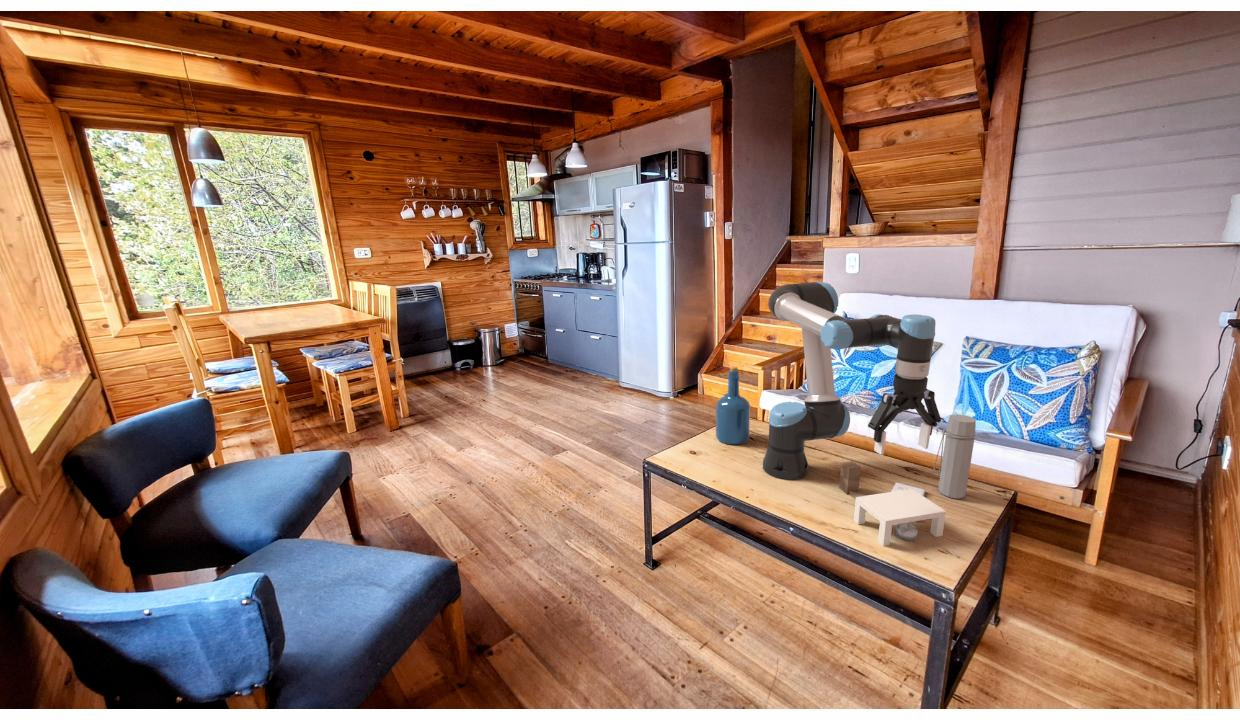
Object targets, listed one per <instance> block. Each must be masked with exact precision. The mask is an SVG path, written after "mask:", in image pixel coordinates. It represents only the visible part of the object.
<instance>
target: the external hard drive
mask: <svg viewBox="0 0 1240 720" xmlns="http://www.w3.org/2000/svg"><path fill="white" fill-rule="evenodd" d="M907 489H913V490H914V491H916V492H917V493H919V494H920V495H922V496H924V497H925V494H926V490H925V489H923V488H919V487H915V486H911V485H907V484H904V483H900V482H895V483H894V485H893V487H892V489H891V491H890V492H894V491H901V490H907Z"/></svg>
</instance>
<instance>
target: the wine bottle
mask: <svg viewBox="0 0 1240 720" xmlns="http://www.w3.org/2000/svg"><path fill="white" fill-rule="evenodd" d="M727 375H728V377H727V379H728V381H727V393H725V394H724V395H723V396H722V397H720V398H719V399H718V401H717V402H716V404H715V437H716V439H717V440H718V441H719V442H721V443H722V444H723V443H724V444H728V445H743V444H744V443H747V442H748V441H749V439H750V426H751V404H750V402H749V400H748V399H746V398H745V397H743V396H742V395H740V371H739V370H738V367H737V366H731V367H730V368H729V370H728V374H727Z"/></svg>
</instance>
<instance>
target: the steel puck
mask: <svg viewBox="0 0 1240 720" xmlns="http://www.w3.org/2000/svg"><path fill="white" fill-rule="evenodd" d="M895 525H896V526H895V535H896V536H897V538H899V539H901V540H903V541H905V542H915V541H916V540H918V532H919V529H918V528H917V526H915V525H914V524H912V523H910V522H907V523H901V524H895Z"/></svg>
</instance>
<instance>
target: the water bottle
mask: <svg viewBox="0 0 1240 720" xmlns="http://www.w3.org/2000/svg"><path fill="white" fill-rule="evenodd" d="M976 422H977V421H976V418H974V417H972V416H969V415H967V414H959V413H957V414H951V415H949V417H948V421H947V423H946V429H942V432H941V434H942V436H941V440H940V443H939V447H938V451H937V454H936V457H935V461H934V463H933V475H935V476H939V481H938V482H939V483H938V492H939V493H940V494H942V495H943V496H945V497H947V498H951V499H963V498H964V497H966V495H967V490H968V489H967V488H968V483H969V475H970V470H971V462H972V457H973V450H974V449H973V448H974V446H975V445H974V443H975V438H976V424H977V423H976ZM944 437H945V438H944ZM940 449H941V453H940ZM939 454H940V461H939V470H938V471H939V472H938V473H936V469H935V468H936V463H937V461H938V457H939Z"/></svg>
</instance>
